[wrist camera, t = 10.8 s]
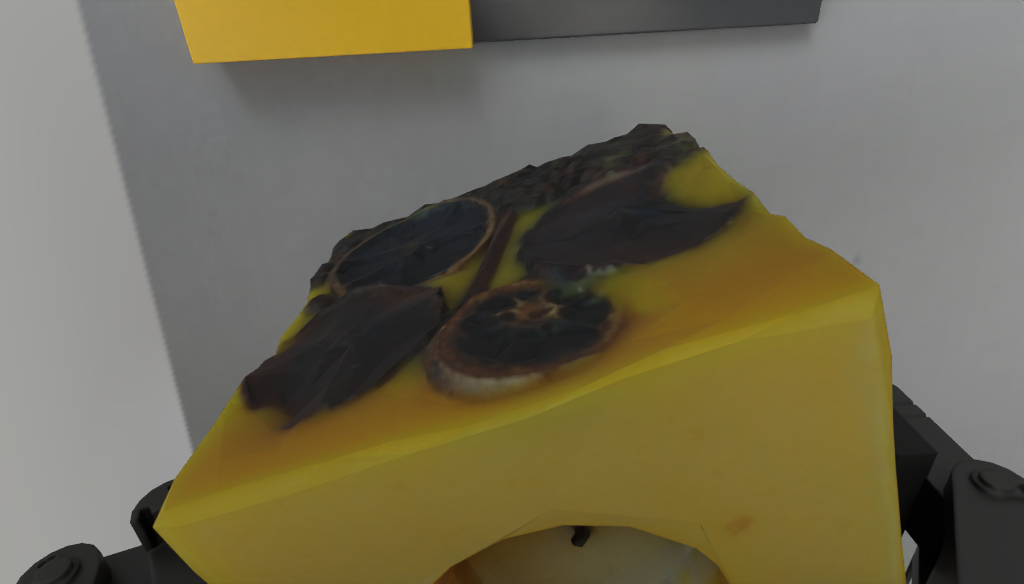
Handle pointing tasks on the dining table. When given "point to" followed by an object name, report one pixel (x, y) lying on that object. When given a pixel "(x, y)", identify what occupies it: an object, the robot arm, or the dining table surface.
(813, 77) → the dining table surface
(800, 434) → the candle
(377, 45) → the knife
